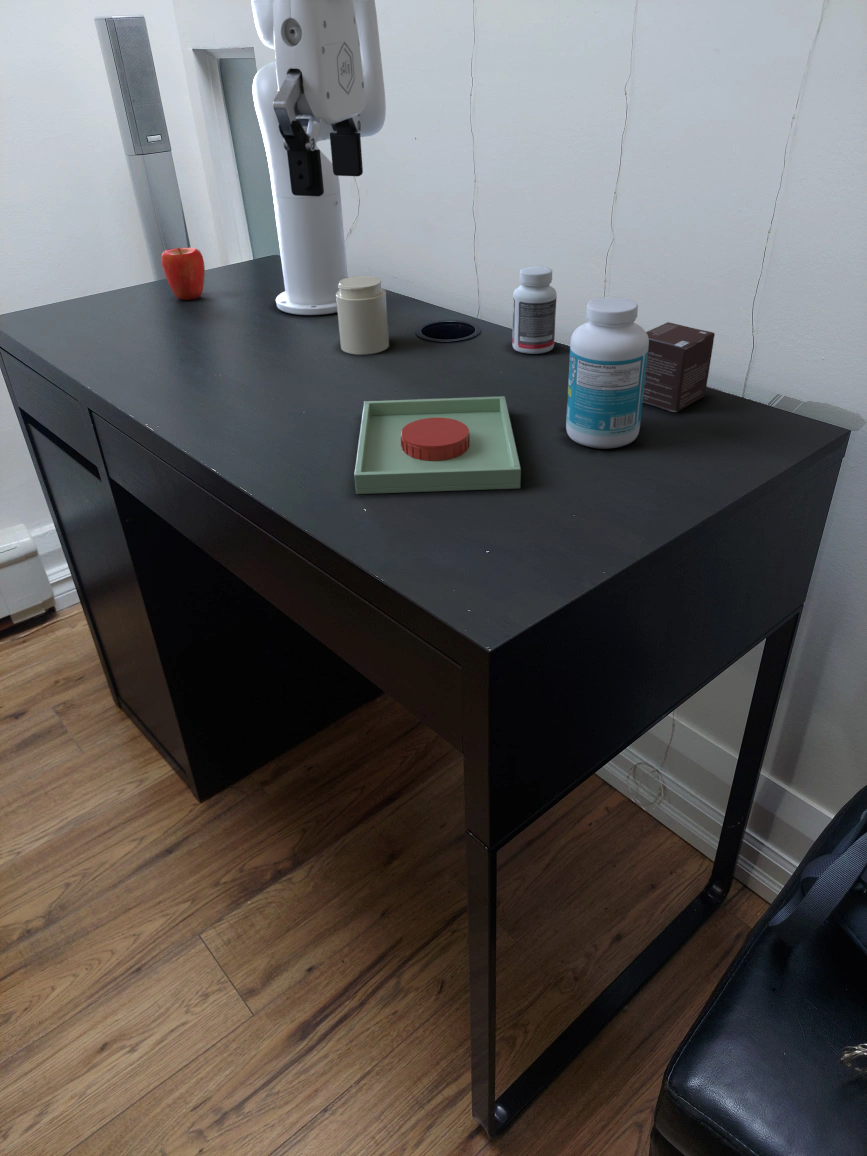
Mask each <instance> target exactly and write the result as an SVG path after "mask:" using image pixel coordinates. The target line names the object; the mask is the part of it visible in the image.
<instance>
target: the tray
mask: <svg viewBox="0 0 867 1156" xmlns="http://www.w3.org/2000/svg"><path fill="white" fill-rule="evenodd" d="M425 418H449V419H454V420H457V421H460V422H462V423H464V424H465V425H466V426H467V427H468V429H469V433H470V443H469V448H468V449H467V451H466V452H465V453H463V454H462V455H460V456H458V457H455V458H452V459H448V460H441V461H426V460H419V459H416V458H413V457H410V456H408V455H407V454H405V453H404V451H402V447H401V431H402V429H403V428H404V427H405V426H406V425H407V424H409V423H411V422H413V421H416V420H420V419H425ZM511 422H512V421H511V418H510V413H509V410H508V404H507V399H506V396H504V395H503V396H502V395H501V396H476V397H475V396H472V397H451V398H448V397H447V398H445V397H443V398H419V399H418V398H417V399H393V400H391V399H389V400H365V401H363V409H362V416H361V423H360V431H359V438H358V444H357V453H356V461H355V467H354V468H355V469H354V475H353V477H354V486H355V494H356V495H369V494H372V495H373V494H397V493H425V492H430V493H431V492H450V491H451V492H453V491H455V492H456V491H482V490H485V491H486V490H511V489H521V479H522V478H521V477H522V469H521V463H520V460H519V455H518V450H517V446H516V442H515V441H516V440H515V436H514V432H513V428H512V423H511Z"/></svg>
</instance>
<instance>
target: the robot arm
mask: <svg viewBox="0 0 867 1156" xmlns="http://www.w3.org/2000/svg"><path fill="white" fill-rule="evenodd" d="M250 1H251V9H252V14H253V21H254V24H255V28H256V32H257V35H258V37H259V39H260V40H261V42H262V44H263V45H264V46H265V47H267V48H269V49H273V50H274V57H275V61H271V62H269V63H267V64H265V65H263V66H262V67H261V68H259V70H258V71H257V72H256V74H255V76H254V78H253V82H252V98H253V102H254V103H253V104H254V109H255V113H256V116H257V120H258V124H259V128H260V131H261V135H262V141H263V145H264V148H265V152H266V153H265V154H266V157H267V164H268V172H269V176H270V186H271V192H272V199H273V206H274V215H275V222H276V230H277V231H276V232H277V238H278V245H279V246H278V247H279V253H280V261H281V268H282V269H281V270H282V276H283V284H284V285H283V286H284V291H282V292H281V293H279V294H278V295H277V296H276V298H275V304H276V308H277V309H278V310H280V311H282V312H283V313H287V314H292V315H297V316H298V315H300V316H320V315H329V314H330V315H331V314H335V313H337V302H336V293H337V292H338V291H339V287H338V284H339V281H340V280H342V279H344V278H348V277H349V276H348V264H347V253H346V252H347V251H346V243H345V241H346V240H345V230H344V219H343V207H342V198H341V197H342V195H341V184H340V178H339V177H360V176H362V175H363V173H364V170H363V169H364V168H363V156H362V155H363V153H362V139H361V138H366V137H367V138H368V137H372V136H374V135H376V134H378V133H379V132H380V131H381V130H382V129H383V128H384V124H385V121H386V114H387V113H386V111H387V109H386V108H387V106H386V102H387V101H386V89H385V81H384V80H385V79H384V73H383V72H384V71H383V62H382V61H383V60H382V53H381V43H380V33H379V24H378V15H377V7H376V1H375V0H250ZM327 140H329V141H330V144H329V145H330V153H331V154H330V155H331V160H330V159H329V158H328V157H327V155H326V154H325V153H324V152H322V150H320V148H319V147H318V146H317V143H318V142H322V141H327Z"/></svg>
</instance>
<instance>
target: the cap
mask: <svg viewBox="0 0 867 1156" xmlns="http://www.w3.org/2000/svg"><path fill="white" fill-rule="evenodd" d="M469 443H470V433H469V429H468V427H467V426H466V425H465V424H464V423H462V422H460V421H457V420H454V419H449V418H425V419H420V420H416V421H413V422H411V423H409V424H407V425H406V426H405V427H404V428H403V429H402V431H401V447H402V451H404V453H405V454H407V455H408V456H410V457H413V458H416V459H419V460H426V461H441V460H448V459H452V458H455V457H458V456H460V455H462V454H463V453H465V452H466V451H467V449H468V448H469Z"/></svg>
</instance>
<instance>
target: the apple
mask: <svg viewBox="0 0 867 1156" xmlns="http://www.w3.org/2000/svg"><path fill="white" fill-rule="evenodd" d="M161 265H162V266H161V267H162V269H163V272H164V276H165V278H166V281H167V283H168V285H169V287H170V289H171V291H172V293H173V295H174V296H175V297H176V298H177V299H178V300H180V301H181V300H182V301H190V300H192V301H193V300H196V299H199V298H200V297H201V295H202V294H203V291H204V285H205V284H204V283H205V275H206V273H205V272H206V271H205V269H206V268H205V267H206V266H205V261H204V257H203V254H202V252H201V251H200V250H199V249H198V248H195V247H175V248H169V249H165V250H164V251H163V252H162V253H161Z"/></svg>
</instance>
